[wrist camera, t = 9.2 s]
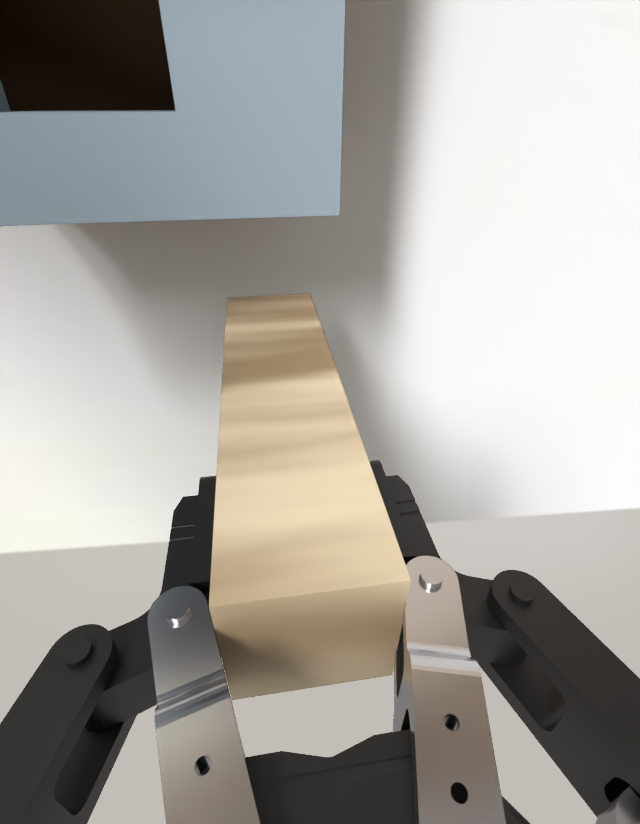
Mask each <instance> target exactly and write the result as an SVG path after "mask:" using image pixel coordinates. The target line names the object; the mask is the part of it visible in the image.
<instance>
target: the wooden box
mask: <svg viewBox="0 0 640 824" xmlns="http://www.w3.org/2000/svg"><path fill="white" fill-rule="evenodd" d="M0 80H1V83H2V86H3V89H4V92H5V95H6V98H7V101H8V104H9V108H10V111H170V110H175V104H174V98H173V91H172V85H171V78H170V71H169V65H168V58H167V52H166V45H165V39H164V32H163V26H162V19H161V13H160V6H159V0H0Z"/></svg>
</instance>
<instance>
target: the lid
mask: <svg viewBox="0 0 640 824" xmlns="http://www.w3.org/2000/svg"><path fill="white" fill-rule="evenodd" d="M159 6H160V13H161V19H162V26H163V32H164V39H165V45H166V52H167V58H168V65H169V71H170V78H171V85H172V91H173V98H174V104H175V110H170V111H10V108H9V104H8V101H7V98H6V95H5V92H4V89H3V86H2V83H1V80H0V226H12V225H44V224H76V223H109V222H141V221H173V220H206V219H238V218H270V217H303V216H335V215H340V184H341V145H342V106H343V68H344V29H345V0H159Z"/></svg>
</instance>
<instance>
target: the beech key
mask: <svg viewBox="0 0 640 824" xmlns="http://www.w3.org/2000/svg"><path fill="white" fill-rule="evenodd" d="M410 583H411V579H410V576H409V573H408V570H407V568H406V565H405V562H404V559H403V556H402V553H401V550H400V548H399V545H398V542H397V539H396V536H395V533H394V531H393V528H392V525H391V522H390V519H389V516H388V514H387V511H386V508H385V505H384V502H383V499H382V496H381V494H380V491H379V488H378V485H377V482H376V479H375V477H374V474H373V471H372V468H371V465H370V462H369V460H368V457H367V454H366V451H365V448H364V445H363V442H362V440H361V437H360V434H359V431H358V428H357V425H356V423H355V420H354V417H353V414H352V411H351V408H350V406H349V403H348V400H347V397H346V394H345V391H344V389H343V386H342V383H341V380H340V377H339V374H338V371H337V369H336V366H335V363H334V360H333V357H332V354H331V352H330V349H329V346H328V343H327V340H326V337H325V335H324V332H323V329H322V326H321V323H320V320H319V317H318V315H317V312H316V309H315V306H314V303H313V300H312V298H311V295H310V294H291V295H272V296H252V297H233V298H227V306H226V323H225V340H224V357H223V374H222V391H221V408H220V425H219V442H218V459H217V476H216V493H215V510H214V527H213V544H212V561H211V578H210V594H209V610H210V614H211V618H212V622H213V626H214V630H215V634H216V638H217V642H218V646H219V650H220V654H221V658H222V662H223V666H224V670H225V674H226V677H227V682H228V686H229V690H230V694H231V698H232V700H235V699H241V698H248V697H254V696H261V695H267V694H274V693H280V692H287V691H293V690H299V689H305V688H312V687H318V686H325V685H331V684H338V683H344V682H350V681H357V680H363V679H369V678H376V677H382V676H389V675H392V673H393V668H394V655H395V650H396V649H397V648H398V643H399V638H400V633H401V628H402V623H403V615H402V614H403V609H404V604H405V602H407V598H408V593H409V588H410Z"/></svg>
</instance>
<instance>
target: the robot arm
mask: <svg viewBox="0 0 640 824" xmlns="http://www.w3.org/2000/svg"><path fill="white" fill-rule="evenodd" d="M369 462H370V465H371V468H372V471H373V474H374V477H375V479H376V482H377V485H378V488H379V491H380V494H381V496H382V499H383V502H384V505H385V508H386V511H387V514H388V516H389V519H390V522H391V525H392V528H393V531H394V533H395V536H396V539H397V542H398V545H399V548H400V550H401V553H402V556H403V559H404V562H405V565H406V568H407V570H408V573H409V576H410V579H411V583H410V588H409V593H408V598H407V602H405V604H404V609H403V614H402V615H403V623H402V628H401V633H400V638H399V643H398V648H397V649H396V650H395V655H394V694H395V696H394V699H395V700H394V719H393V732H390V733H385V734H379V735H374V736H372V737H370V738H368V739H366V740H364V741H362V742H360V743H358V744H356V745H355V746H353V747H351V748H349V749H347V750H345V751H343V752H341V753H339V754H337V755H336V756H333V757H328V758H327V757H319V756H312V755H305V754H298V753H291V752H284V751H280V752H275V753H269V754H263V755H258V756H252V757H246V758H245V754H244V750H243V747H242V742H241V738H240V734H239V730H238V726H237V722H236V718H235V714H234V710H233V705H232V701H231V697H230V693H229V689H228V685H227V681H226V677H225V672H224V668H223V664H222V660H221V654H220V650H219V646H218V642H217V638H216V634H215V630H214V626H213V622H212V618H211V614H210V610H209V594H210V578H211V561H212V544H213V527H214V510H215V493H216V476H210V477H201V478H200V483H199V493H198V495H197V496H187V497H183V498H182V500H181V501H180V503H179V504H178V506H177V507H176V509H175V510H174V514H173V520H172V529H171V533H170V542H169V546H168V554H167V559H166V566H165V572H164V578H163V585H162V590H161V593H160V595H159V597H158V598H157V599H156V600H155V602H154V603H153V604H152V606H151V608H150V609H149V610H148V611H147V612H146V613H145V614H143V615H142V616H140V617H139V618H137V619H135V620H133V621H131V622H129V623H126V624H124V625H122V626H119V627H117V628H115V629H113V630H110V631H108V630H107V629H105V628H104V627H102V626H99V625H94V624H90V625H83V626H79V627H77V628H74V629H72V630H71V631H69V632H67V633H66V634H64V635H63V636H62V637H61V638H60V639H59V640H58V641H57V642H56V643H55V644H54V645H53V646H52V648H51V649H50V651H49V652H48V654H47V655H46V657H45V658H44V660H43V661H42V663H41V664H40V666H39V667H38V669H37V670H36V672H35V673H34V675H33V676H32V678H31V679H30V680H29V682H28V683H27V685H26V686H25V688H24V690H23V691H22V693H21V694H20V695H19V697H18V698H17V700H16V702H15V703H14V704H13V706H12V707H11V709H10V710H9V712H8V713H7V715H6V717H5V718H4V719H3V721H2V722H1V724H0V824H87V822H88V820H89V818H90V816H91V813H92V811H93V809H94V807H95V805H96V802H97V800H98V798H99V796H100V794H101V791H102V789H103V787H104V785H105V783H106V781H107V779H108V776H109V774H110V772H111V770H112V768H113V766H114V763H115V761H116V759H117V757H118V755H119V752H120V750H121V748H122V746H123V744H124V742H125V739H126V737H127V735H128V733H129V731H130V728H131V726H132V724H133V722H134V720H135V718H136V716H137V714H139V713H141V712H143V711H145V710H147V709H149V708H151V707H152V706H155V705H157V708H156V709H155V727H156V738H157V746H158V754H159V763H160V772H161V782H162V790H163V799H164V808H165V817H166V824H530V823H529V822H528V821H527V820H526V819H525V818H524V817H523V816H522V815H521V814H520V813H519V812H518V811H517V810H516V809H515V808H514V807H513V806H512V805H511V804H510V803H509V802H508V801H507V800H505V798H504V797H503V796H502V795H501V790H500V784H499V779H498V773H497V767H496V761H495V756H494V749H493V743H492V737H491V731H490V725H489V720H488V714H487V708H486V701H485V696H484V690H483V684H482V678H481V673H480V668H479V665H480V666H481V668H482V669H483V670H484V672H485V673H486V674H487V675H488V677H489V678H490V679H491V681H492V682H493V683H494V685H495V686H496V687H497V688H498V690H499V691H500V692H501V694H502V695H503V696H504V698H505V699H506V700H507V701H508V703H509V704H510V705H511V707H512V708H513V709H514V711H515V712H516V713H517V714H518V716H519V717H520V718H521V720H522V721H523V722H524V723H525V725H526V726H527V727H528V728H529V730H530V731H531V732H532V734H533V735H534V736H535V738H536V739H537V740H538V741H539V743H540V744H541V745H542V747H543V748H544V749H545V750H546V752H547V753H548V754H549V756H550V757H551V758H552V760H553V761H554V762H555V763H556V765H557V766H558V767H559V768H560V770H561V771H562V772H563V774H564V775H565V776H566V778H567V779H568V780H569V781H570V783H571V784H572V785H573V787H574V788H575V789H576V791H577V792H578V793H579V794H580V796H581V797H582V798H583V800H584V801H585V802H586V803H587V805H588V806H589V807H590V809H591V810H592V811H593V812H594V814H595V815H596V816H597V821H596V824H640V679H639V678H638V677H637V676H636V675H635V674H634V673H633V672H632V671H631V670H630V669H629V668H628V667H627V666H626V665H625V664H624V663H623V662H622V661H621V660H620V659H619V658H617V656H616V655H615V654H614V653H613V652H612V651H611V650H610V649H608V647H606V646H605V645H604V644H603V643H602V642H601V641H600V640H599V639H598V638H597V637H596V636H595V635H594V634H593V633H592V632H591V631H590V630H589V629H588V628H587V627H586V626H585V625H584V624H583V623H582V622H581V621H580V620H579V619H578V618H577V617H576V616H575V615H573V613H571V612H570V611H569V610H568V609H567V608H566V607H565V606H564V605H563V604H562V603H561V602H560V601H559V600H558V599H557V598H556V597H555V596H554V595H553V594H552V593H551V592H550V591H549V590H548V589H547V588H546V587H545V586H544V585H543V584H542V583H541V582H539V581H538V580H537V579H536V578H534V577H533V576H531V575H529V574H527V573H524V572H521V571H516V570H507V571H503V572H501V573H499V574H498V575H497V576H496V577H495V578H494V580H488V579H482V578H476V577H470V576H466V575H463V574H460V573H458V572H456V571H454V570H453V568H452V567H451V566H450V565H448V564H447V563H446V562H445V561H443V560H442V559H441V558H440V556H439V554H438V552H437V550H436V548H435V545H434V543H433V541H432V538H431V536H430V534H429V532H428V529H427V527H426V525H425V522H424V520H423V518H422V515H421V514H420V511H419V508H418V506H417V504H416V503H415V499H414V497H413V494H412V492H411V490H410V487H409V486H408V485H407V484H406V483H405V482H404V481H403V480H402V479H401V478H400V477H399V476H398V475H396V476H386V475H385V473H384V470H383V468H382V465H381V463H380V461H379V460H377V461H369ZM478 664H479V665H478Z"/></svg>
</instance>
